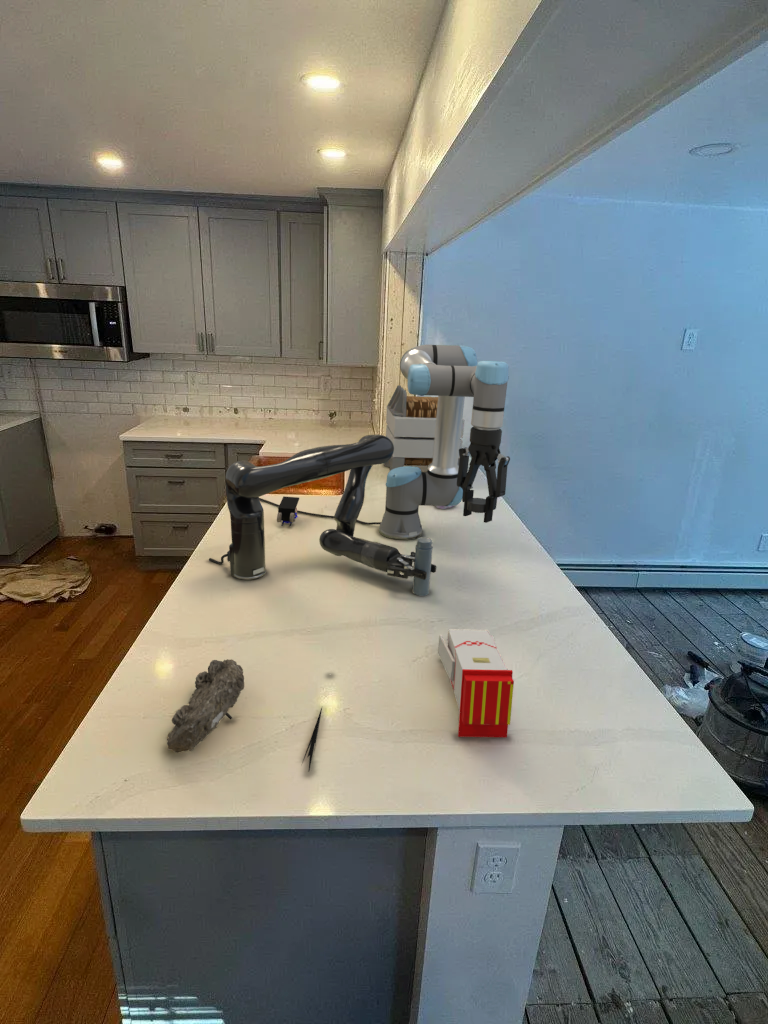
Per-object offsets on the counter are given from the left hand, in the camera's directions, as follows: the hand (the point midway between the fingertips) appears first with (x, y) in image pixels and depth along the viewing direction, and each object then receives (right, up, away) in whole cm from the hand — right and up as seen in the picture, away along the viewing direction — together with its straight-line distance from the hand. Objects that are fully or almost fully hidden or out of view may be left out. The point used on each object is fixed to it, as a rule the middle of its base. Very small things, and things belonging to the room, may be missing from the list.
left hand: (430, 572), depth 156 cm
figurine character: (-48, +13, +50) cm, 71 cm away
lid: (+11, +19, -13) cm, 26 cm away
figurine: (+12, +19, +74) cm, 78 cm away
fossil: (-46, -22, -48) cm, 70 cm away
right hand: (+11, +15, -12) cm, 22 cm away
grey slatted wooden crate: (+4, +35, +119) cm, 124 cm away
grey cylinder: (-3, -6, +4) cm, 7 cm away
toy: (+5, -21, -37) cm, 43 cm away
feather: (-25, -23, -47) cm, 58 cm away
